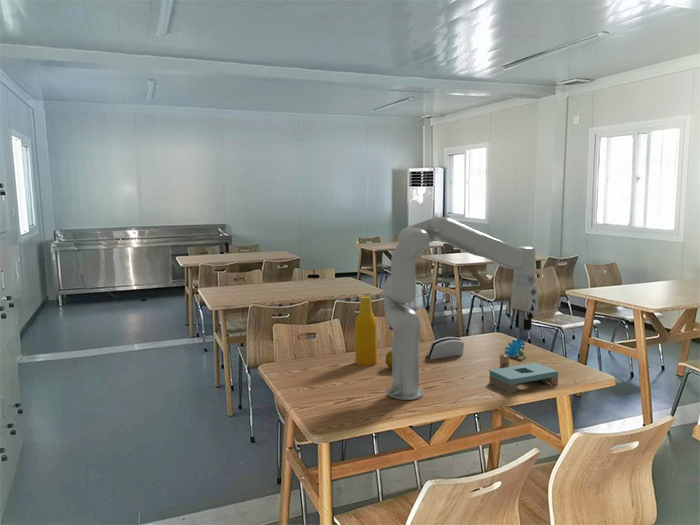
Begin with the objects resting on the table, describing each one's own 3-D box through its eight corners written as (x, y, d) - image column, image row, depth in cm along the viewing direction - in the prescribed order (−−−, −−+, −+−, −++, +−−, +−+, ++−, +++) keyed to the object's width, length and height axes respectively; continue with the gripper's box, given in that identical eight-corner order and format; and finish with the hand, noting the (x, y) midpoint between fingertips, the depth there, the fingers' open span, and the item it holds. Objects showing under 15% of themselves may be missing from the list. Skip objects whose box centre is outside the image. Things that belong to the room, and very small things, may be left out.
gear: (499, 350, 245) (515, 334, 245) (507, 358, 247) (523, 342, 247) (512, 360, 235) (528, 343, 234) (520, 368, 237) (536, 352, 236)
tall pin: (525, 340, 202) (526, 308, 200) (516, 339, 204) (517, 307, 202) (529, 338, 204) (530, 307, 203) (520, 337, 207) (521, 306, 205)
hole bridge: (510, 392, 196) (510, 379, 195) (489, 382, 207) (489, 370, 206) (557, 384, 204) (558, 371, 204) (535, 374, 215) (535, 362, 215)
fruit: (402, 364, 232) (402, 346, 231) (412, 370, 223) (412, 351, 223) (382, 367, 228) (381, 348, 228) (391, 373, 220) (391, 354, 219)
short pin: (506, 371, 220) (506, 357, 219) (498, 370, 222) (498, 355, 221) (510, 369, 222) (510, 355, 222) (502, 368, 225) (502, 353, 224)
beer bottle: (375, 367, 229) (375, 299, 226) (354, 366, 231) (352, 298, 227) (378, 360, 238) (377, 295, 235) (357, 360, 240) (356, 295, 236)
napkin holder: (456, 351, 250) (461, 333, 245) (462, 357, 246) (466, 339, 242) (425, 356, 243) (429, 337, 239) (430, 362, 239) (434, 343, 235)
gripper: (548, 282, 196) (547, 331, 198) (516, 276, 210) (515, 323, 213) (532, 283, 192) (531, 334, 194) (501, 278, 207) (500, 325, 209)
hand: (523, 327), depth 204 cm, fingers closed on tall pin, 3 cm apart
